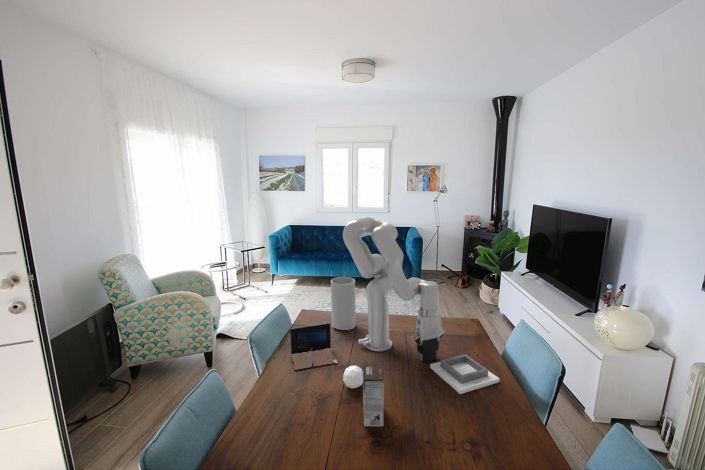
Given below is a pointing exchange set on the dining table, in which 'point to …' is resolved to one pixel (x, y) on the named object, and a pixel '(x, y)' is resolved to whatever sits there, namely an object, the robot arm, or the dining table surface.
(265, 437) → the dining table surface
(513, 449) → the dining table surface
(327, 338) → the laptop
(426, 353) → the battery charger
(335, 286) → the cylinder vase
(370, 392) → the coffee box
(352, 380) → the geometric ball
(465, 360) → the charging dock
